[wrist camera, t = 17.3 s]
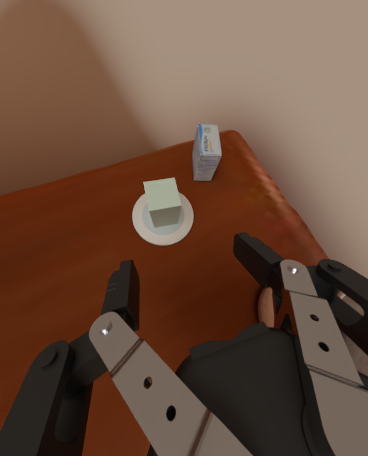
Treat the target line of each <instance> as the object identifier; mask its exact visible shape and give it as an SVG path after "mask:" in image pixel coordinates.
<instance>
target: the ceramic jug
mask: <svg viewBox="0 0 368 456" xmlns="http://www.w3.org/2000/svg"><path fill="white" fill-rule="evenodd" d="M337 296H338V297H340V298H341V299H342V300H343V301H345V302H346V303H347V304H348V305H350V306H351V307H352V308H353V309H355V310H356V311H357V312H358V313H360V314H361V315H362V316H363V315H364V311H363V309H362V308H361V307H360V306H359V305H358V304H357V303H356V302H354V301H353V300H352V299H350V298H349V297H348V296H347V295H345V294H344V293H343V292H341V291H340V292H339V293H338V295H337ZM258 317H259V322H262V321H264V323H265V324H266V326H267V327H274V310H273V300H272V289H271V288H267V289H263V290H262V292H261V294H260V297H259V300H258ZM339 330H340V329H339ZM340 332H341V334H342V337H343V339H344V341H345V344H346V346H347V348H348V351H349V353H350V355H351V358H352V360H353V363H354V365H355V367H356V370H357V371H359V372H361V373H363V374H364V375H366V376H368V356H367V355H366V354H365V353H364V352H363V351H362V350H361V349H360V348H359V347H358V346H357V345H356V344H355V343H354V342H353V341H352V340H351V339H350V338H349V337H348V336H347V335H346V334H344V333H343V332H342V331H341V330H340Z"/></svg>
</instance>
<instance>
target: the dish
mask: <svg viewBox="0 0 368 456" xmlns="http://www.w3.org/2000/svg"><path fill="white" fill-rule="evenodd" d="M178 194H179V197H180V201H181V210H180V215H179V220H178V224H173V225H168V226H163V227H157V228H154V225H153V222H152V219H151V216H150V213H149V209H148V204H147V198H146V193H145V194H143V195H142V196H141V197H140V198H139V199H138V201H137V202H136V204H135V206H134V209H133V213H132V219H133V224H134V227H135V229H136V231H137V232H138V233H139V235H140V236H141V237H142V238H143V239H144V240H146V241H147V242H149V243H151V244H154V245H159V246H167V245H172V244H175V243H177V242H179V241H180V240H182V239H183V238H184V237H185V236H186V235H187V234H188V232H189V231H190V229H191V227H192V224H193V217H194V215H193V209H192V206H191V204H190V202H189V201H188V199H187V198H186V197H185V196H184V195H182V194H181V193H179V192H178Z"/></svg>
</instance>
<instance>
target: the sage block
mask: <svg viewBox="0 0 368 456" xmlns="http://www.w3.org/2000/svg"><path fill="white" fill-rule="evenodd" d="M143 183H144V188H145V193H146V198H147V204H148V209H149V213H150V216H151V219H152V222H153V225H154V228H157V227H163V226H168V225H173V224H178V220H179V215H180V210H181V201H180V197H179V194H178V190H177V186H176V182H175V178H169V179H162V180H155V181H148V182H143Z"/></svg>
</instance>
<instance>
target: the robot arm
mask: <svg viewBox="0 0 368 456" xmlns="http://www.w3.org/2000/svg"><path fill="white" fill-rule="evenodd" d="M233 252H234V255H235V257H236V258H237V259H238V260H239V261H240V262H241V264H242V265H243V266H244V267H245V268H246V269H247V270H248V272H249V273H250V274H251V275H252V276H253V277H254V278H255V280H256V281H257V282H258V283H259V284H260V285H261V286H262V288H263V289H267V288H271V289H272V300H273V310H274V327H267V326H266V324H265V323H264V321H262V322H260V323H257V324H254V325H252V326H249V327H246V328H245V329H244V330H243V331H241V332H240V333H239V334H238V335H237V336H235V337H234V338H233V339H232V340H227V341H208V342H205V343H203V344H200V345H197V346H194V347H192V348H189V351H190V355H189V356H188V357H187V358H186V359H185V360H184V361H183V362H182V363H181V364H180V366H179V367H178V369H177V370H176V372H175V373H174V372H173V371H172V370H171V369H170V368H169V367H168V366H167V365H166V364H165V363H164V361H163V360H162V359H161V358H160V357H159V356H158V355H157V354H156V353H155V352H154V351H153V349H152V348H151V347H150V346H149V345H148V344H147V343H146V342H145V341H144V340H143V339H140V338H139V337H138V336H137V335H136V334H135V333H134V331H136V330H139V291H140V282H139V276H138V273H137V270H136V268H135V265H134V262H133V260H128V261H124V262H121V263H120V269H119V270H118V271H114V273H113V274H112V275H111V277H110V279H109V283H108V287H107V292H106V296H105V300H104V304H103V308H102V312H101V316H100V317H99V318H98V319H97V320H96V321H95V322H94V323H93V325H92V326H91V328H90V330H89V331H88V332H87V333H85V334H84V335H82V336H80V337H79V338H77V339H75V340H74V341H72V342H70V343H69V344H68V343H67V342H66V341H57V342H54V343H52V344H51V345H49V346H48V347H46V348H45V349H44V350H43V351H42V352H41V353H40V354H39V355H38V356H37V357H36V358H35V360H34V361H33V363H32V364H31V366H30V368H29V370H28V373H27V375H26V377H25V379H24V381H23V383H22V386H21V388H20V390H19V392H18V394H17V397H16V399H15V401H14V403H13V405H12V407H11V410H10V412H9V414H8V416H7V418H6V421H5V423H4V425H3V427H2V429H1V431H0V456H82V451H83V444H84V438H85V432H86V425H87V419H88V413H89V406H90V400H91V394H92V387H93V381H94V380H96V379H97V378H98V377H100V376H101V375H102V374H104V373H105V372H106V371H108V370H109V371H110V373H111V378H112V380H113V381H114V383H115V385H116V387H117V388H118V390H119V392H120V393H121V395H122V397H123V398H124V400H125V402H126V403H127V405H128V407H129V408H130V410H131V412H132V413H133V415H134V416H135V418H136V420H137V421H138V423H139V425H140V426H141V428H142V430H143V431H144V433H145V435H146V436H147V438H148V440H149V441H150V443H151V445H150V448H149V451H148V454H147V456H368V376H366V375H364V374H363V373H361V372H359V371H357V370H356V367H355V365H354V363H353V360H352V358H351V355H350V353H349V351H348V348H347V346H346V344H345V341H344V339H343V337H342V334H341V332H340V330H341V331H342V332H343V333H344V334H346V335H347V336H348V337H349V338H350V339H351V340H352V341H353V342H354V343H355V344H356V345H357V346H358V347H359V348H360V349H361V350H362V351H363V352H364V353H365V354H366V355H367V356H368V279H367V278H365V277H364V276H362V275H360V274H359V273H357V272H355V271H354V270H352V269H351V268H349V267H347V266H346V265H344V264H342V263H340V262H337V261H334V260H330V259H323V260H320V261H319V263H318V265H317V266H304V265H303V264H301V263H299V262H297V261H294V260H285V259H284V258H282V257H281V256H280V255H279V254H277V253H276V252H275V251H273V250H272V249H271V248H269V247H268V246H267V245H266V244H264V243H263V242H262V241H260V240H259V239H257V238H254V237H251V236H249V235H248V234H247V233H245V232H243V233H239V234H236V235H235V236H234V247H233ZM340 291H341V292H343V293H344V294H345V295H347V296H348V297H349V298H350V299H352V300H353V301H354V302H356V303H357V304H358V305H359V306H360V307H361V308H362V309H363V311H364V315H363V316H362V315H361V314H360V313H358V312H357V311H356V310H355V309H353V308H352V307H351V306H350V305H348V304H347V303H346V302H345V301H343V300H342V299H341V298H340V297H338V296H337V295H338V293H339V292H340ZM339 329H340V330H339Z"/></svg>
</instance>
